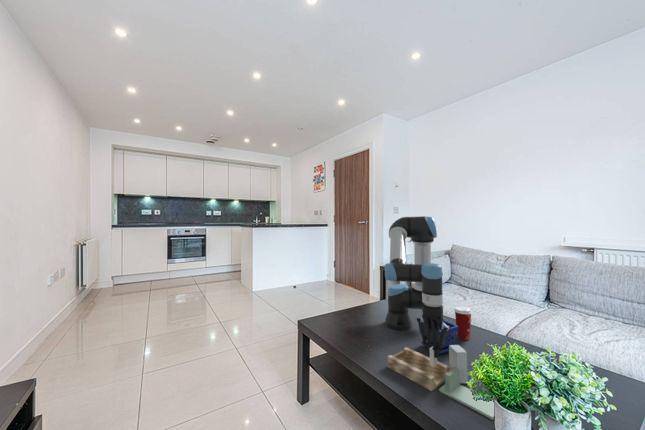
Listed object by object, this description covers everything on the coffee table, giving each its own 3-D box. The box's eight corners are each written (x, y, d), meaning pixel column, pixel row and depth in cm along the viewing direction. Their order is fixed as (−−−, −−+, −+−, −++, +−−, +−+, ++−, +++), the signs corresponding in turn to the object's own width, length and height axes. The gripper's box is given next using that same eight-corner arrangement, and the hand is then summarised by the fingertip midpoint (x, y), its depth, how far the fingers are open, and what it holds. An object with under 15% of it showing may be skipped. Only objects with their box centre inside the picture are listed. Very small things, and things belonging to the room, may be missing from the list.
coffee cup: (474, 341, 134) (474, 311, 134) (457, 340, 136) (456, 311, 136) (469, 334, 142) (468, 306, 143) (452, 333, 144) (452, 305, 144)
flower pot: (440, 358, 119) (440, 331, 119) (417, 345, 131) (417, 321, 131) (459, 351, 125) (459, 325, 125) (436, 339, 137) (435, 316, 137)
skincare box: (449, 374, 106) (448, 344, 106) (459, 374, 106) (458, 344, 107) (457, 384, 100) (456, 352, 100) (468, 383, 100) (467, 352, 100)
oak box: (387, 367, 112) (387, 356, 112) (406, 357, 120) (406, 347, 120) (431, 391, 96) (431, 378, 96) (449, 378, 104) (449, 366, 104)
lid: (439, 391, 96) (438, 372, 97) (450, 383, 101) (450, 364, 102) (492, 421, 82) (492, 397, 82) (503, 409, 87) (502, 387, 87)
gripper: (412, 301, 106) (413, 360, 106) (443, 310, 96) (444, 375, 95) (422, 298, 111) (423, 354, 110) (453, 306, 100) (455, 368, 100)
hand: (433, 364), depth 103 cm, fingers closed
